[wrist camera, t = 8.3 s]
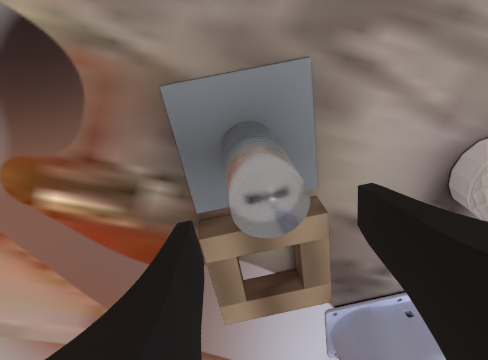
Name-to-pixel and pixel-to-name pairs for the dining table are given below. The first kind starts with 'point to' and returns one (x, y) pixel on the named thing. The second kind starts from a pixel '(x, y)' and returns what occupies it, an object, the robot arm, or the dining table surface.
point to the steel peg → (262, 182)
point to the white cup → (472, 180)
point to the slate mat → (239, 110)
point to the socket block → (274, 285)
